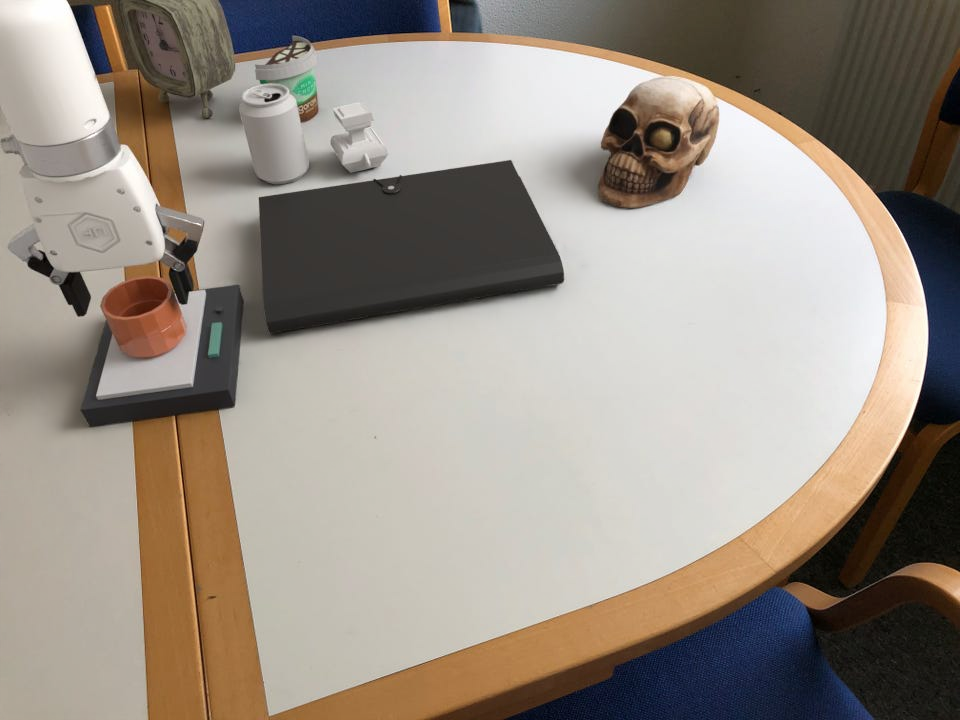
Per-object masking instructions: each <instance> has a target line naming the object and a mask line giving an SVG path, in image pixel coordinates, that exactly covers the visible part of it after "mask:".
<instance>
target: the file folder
mask: <svg viewBox="0 0 960 720" xmlns="http://www.w3.org/2000/svg"><path fill="white" fill-rule="evenodd" d="M258 213H259V217H258V219H259V220H258V221H259V222H258V223H259V239H260V261H261V262H260V263H261V284H262V285H261V286H262V303H263V313H264V320H265V324H266V329H267V331H268V333H269V334H275V333H276V334H277V333H281V332H287V331H292V330H300V329H304V328H305V329H306V328H310V327H315V326H322V325H328V324H335V323H339V322H345V321H351V320H357V319H358V320H359V319H362V318H369V317H374V316H380V315H386V314H387V315H388V314H393V313H398V312H404V311H409V310H416V309H421V308H427V307H433V306H439V305H444V304H450V303H457V302H462V301H468V300H474V299H479V298H486V297H492V296H496V295H497V296H498V295H503V294H509V293H510V294H511V293H515V292H521V291H526V290H531V289H539V288H543V287H549V286H555V285H562V284H563V283H564V282H565V270H564V265H563V261H562V258H561V256H560V254H559V252H558V249H557V247H556V245H555V243H554V241H553V239H552V237H551V236H550V233H549V231H548V230H547V227H546V225H545V223H544V221H543V220H542V218H541V216H540V213H539V212H538V210H537V208H536V205H535V204H534V202H533V200H532V198H531V195H530V194H529V191H528V189H527V187H526V185H525V184H524V182H523V180H522V178H521V176H520V175H519V173H518V171H517V169H516V167H515V165H514V163H513V161H512V159H508V160H501V161H494V162H493V161H492V162H488V163H487V162H486V163H482V164H481V163H480V164H474V165H467V166H460V167H453V168H447V169H441V170H433V171H427V172H419V173H413V174H406V175H402V174H399V175H398V176H393V177H385V178H378V179H376V178H373V179H371V180H366V181H359V182H353V183H345V184H338V185H331V186H324V187H318V188H311V189H305V190H298V191H291V192H284V193H278V194H269V195H264V196H259V197H258Z"/></svg>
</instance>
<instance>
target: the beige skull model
mask: <svg viewBox="0 0 960 720" xmlns="http://www.w3.org/2000/svg"><path fill="white" fill-rule="evenodd" d="M611 115H612V116H611V117H610V119H609V122H608V125H607V127H606V128H605V130H604V132H603V134H602V135H603V136H602V138H601V141H600V148H601V149H602V150H603V151H608V152H609V156H608V158H607V161H606V163H605V165H604V166H603V169H602V172H601V175H600V178H599V181H598V184H597V191H598V194H599V198H600V200H601V201H602V202H603V203H605V204H608V205H611V206H613V207H618V208H629V209H637V208H643V207H647V206H650V205H653V204H656V203H657V202H663V201H666V200H668V199H669V198H674V197H675V198H676V197H677V196H679V195H680V194H681V193H683V191H684V189H685V188H686V186H687V184H688V181H689V179H690V177H691V174H692V172H693V169H694V168H695V167H696V166H697V167H698V166H701V165H703V164H704V162H705V161H706V159H707V158H708V156H709V154H710V152H711V150H712V147H713V146H714V144H715V141H716V138H717V133H718V128H719V123H720V107H719V103H718V101H717V98H716V97H715V95H714V93H713V92H712V91H711V90H710V89H709V88H708V87H707V86H706V85H704V84H702V83H699V82H697V81H694V80H692V79H689V78H685V77H682V76H676V75H668V76H659V77H655V78H651V79H649V80H646V81H643V82H641V83H639V84H637V85H636V86H634V88H633V89H632V90H630V92H629V94H628V96H627V97H626V99H625V100H624V101H623V102H622V103H621V104H620V105H619V106H618V107H617V109H615V111H614V112H613V113H612V114H611Z"/></svg>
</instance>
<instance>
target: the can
mask: <svg viewBox="0 0 960 720" xmlns="http://www.w3.org/2000/svg"><path fill="white" fill-rule="evenodd" d="M240 98H241V102H240V103H239V107H238V110H239V114H240V119H241V122H242V126H243V129H244V134H245V137H246V142H247V145H248V149H249V152H250V153H249V154H250V157H251V161H252V164H253V165H252V166H253V169H254V173H255V175H256V176H257V178H259V179H260V180H263V181H265V182H266V183H269V184H272V185H286V184H290V183H293V182H295V181H298V180H299V179H301V178H302V177H303V176H304V175H305V174H306V172H307V170H308V169H309V168H310V161H309V157H308V151H307V147H306V141H305V136H304V132H303V127H302V123H301V122H300V117H299V112H298V107H297V102H296V99H295V98H294V96H292V95H291V94H289V89H288V88H287V87H285V86H284V85H280V84H272V83H270V84H257V85H254V86H251V87H249V88H247V89H245V90H244V91H243V92H242V93H241V97H240Z"/></svg>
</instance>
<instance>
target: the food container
mask: <svg viewBox="0 0 960 720" xmlns="http://www.w3.org/2000/svg"><path fill="white" fill-rule="evenodd" d="M291 38H292V42H290V44H289V45H288V46H286V47H285V48H283V49H281V50H279V51H277V52H275V53H274V54H273V55H272V56H271V58H270V59H269V60H268V61H267V62H266V63H265V64H257V63H256V64H254V66H255V69H254V71H255V80H257V81H259V83H260V84H259V85H261V84H270V83H272V84H280V85H284V86H285V87H287V88H288V89H289V94H291V95H292V96H294V98H295V99H296V102H297V107H298V112H299V117H300V122H301V124H303V123H306V122H309V121H310V120H312V119H313V118H315V117H316V116H317V115H318V113H319V110H320V109H319V99H318V90H317V80H316V69H315V66H316V65H317V63H318V58H319V57H318V55H317V53H316V50H315V47H314V45H312V43H311V41H309V40H308V39H306V38H304V37H302V36H298V35H291Z"/></svg>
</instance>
